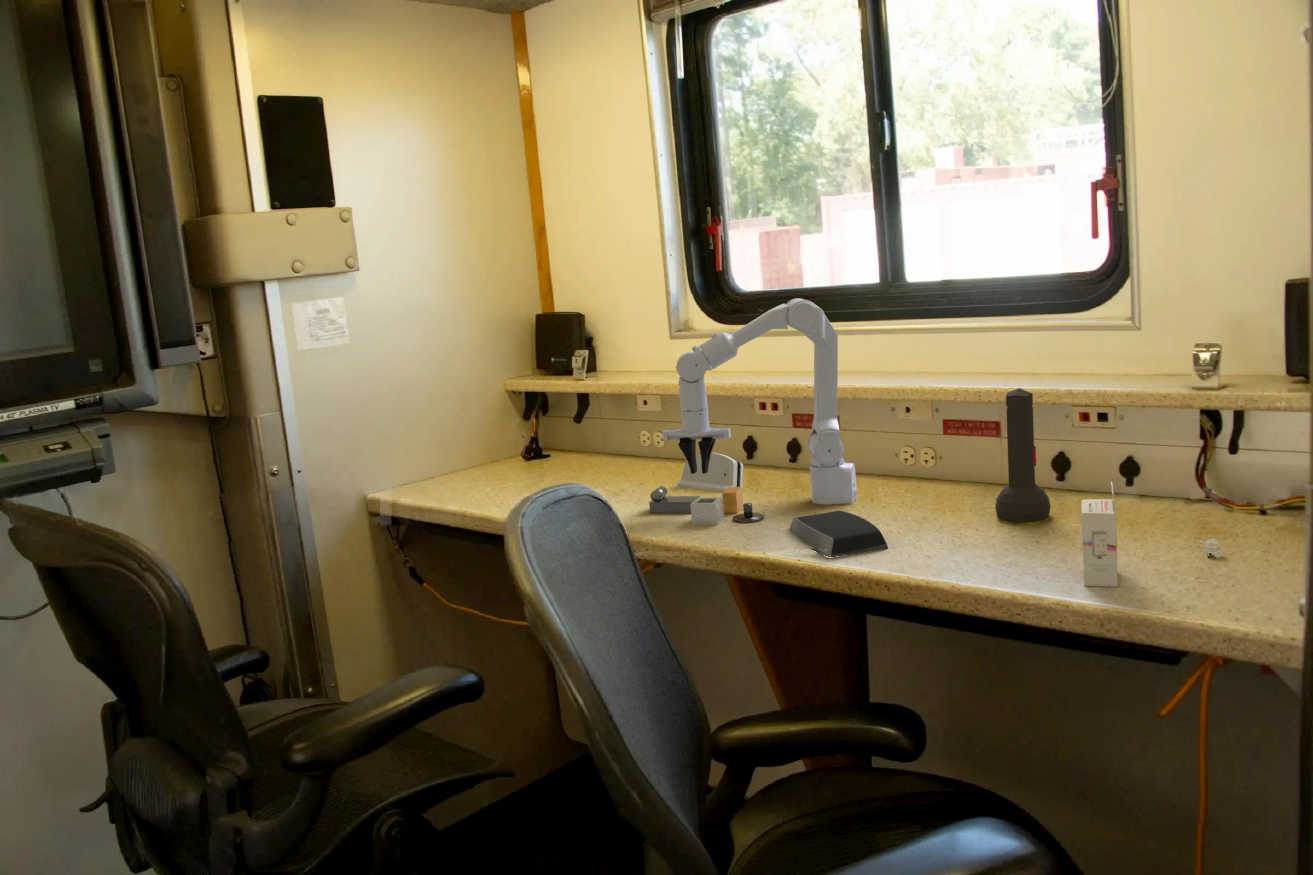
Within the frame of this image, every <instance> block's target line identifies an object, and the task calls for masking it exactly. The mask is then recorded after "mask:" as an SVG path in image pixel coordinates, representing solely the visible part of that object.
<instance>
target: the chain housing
mask: <svg viewBox="0 0 1313 875" xmlns="http://www.w3.org/2000/svg"><path fill="white" fill-rule="evenodd" d="M667 495H668V489H667V487H665V486H663V485H660V486H659V487H656V489H654V490H653V491H652V492H651V493H650V495H649V496H650V501H649V502H648V504H649V513H650V515H651V514H659V515H660V514H661V515H664V514H665V515H666V514H671V515H673V514H675V515H676V514H677V515H678V514H679V515H680V514H683V515H685V514H689V515H690V514H691V505H690V504H691V503H692V502H693V501H695V500H696V499H697V498H701V496H700V495H694V496H693V495H687V496H686V495H685V496H684V495H683V496H681V495H680V496H679V495H677V496H675V495H674V496H667Z"/></svg>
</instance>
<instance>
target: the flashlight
mask: <svg viewBox="0 0 1313 875" xmlns="http://www.w3.org/2000/svg"><path fill="white" fill-rule="evenodd" d="M1033 395H1034V394H1033V393H1032V392H1030V391H1028V390H1025V389H1023V388H1019V387H1018V388H1015V389H1012V390H1011V391H1009V392H1006V394H1005V407H1006V435H1007V465H1008V469H1007V470H1008V484H1006V485H1005V486H1004V487H1002V489H1001V491H1000V493H999V494H998V496H997V497H996V499H995V500H996V501H995V508H994V509H995V512H996V517H997V518H998V519H999V520H1000V521H1003V522H1006V523H1011V524H1031V523H1037V522H1045V521H1047V520H1048V519H1049V517H1050V512H1051V508H1052V506H1051V502H1050V498H1049V495H1048V494H1047V492H1046V490H1045V489H1044V488H1042V487H1041V486H1039V485H1038V484H1036V474H1035V473H1036V468H1035V467H1036V466H1037V450H1036V447H1037V446H1035V435H1034V434H1035V432H1034V431H1035V430H1034V429H1035V428H1034V407H1033V404H1034V401H1033V400H1034V399H1033V398H1034V397H1033ZM1046 519H1047V520H1046Z"/></svg>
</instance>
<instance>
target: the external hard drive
mask: <svg viewBox="0 0 1313 875" xmlns="http://www.w3.org/2000/svg"><path fill="white" fill-rule="evenodd" d="M788 529H789V531H790V532H791V533H792V534H794V535H795V536H796V537H797V538H798V539H799V540H801V541H802V542H803V543H806V544H808V546H811V547H813V548H811V549H812V550H814V551H816V552H817V553H816V552H815V553H816V554H818V553H819V554H818V555H820V554H822V555H825V556H828V557H836V556H842V557H844V556H843V555H848V556H852V555H851V554H854V555H858V553H859V554H863V553H864V552H865V553H869V551H871V552H876V551H883V550H886V549H887V548H888V549H889V547H888V543H887V542H886V539H885V537H884V534H883V533H882V532H881V531H880V529H879V528H878V527H877V526H876V525H874V524H873V523H872V522H870V521H868V520H867V519H865V518H864V517H862V516H859V515H856V514H853V513H851V512H848V511H844V510H843V511H842V510H834V511H830V512H829V511H828V512H821V513H817V514H809V515H804V516H798V517H797V516H795V517H793V519H792V521H791V523H790V525H789V528H788ZM812 550H811V551H812ZM875 550H876V551H875ZM814 551H813V552H814ZM822 555H821V556H822ZM836 558H837V557H836Z"/></svg>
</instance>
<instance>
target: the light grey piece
mask: <svg viewBox="0 0 1313 875" xmlns="http://www.w3.org/2000/svg"><path fill="white" fill-rule="evenodd" d="M696 462H697V472H696V473H695V474H691V470H690V467H689V464H688V462H687V459H686V458H685V462H684V466H683V471H682V473H681V478H680V480H679V482H678V483H677V486H676V490H677V489H678V490H679V489H680V490H682V489H685V490H687V489H688V490H689V489H691V490H700V491H701V490H702V491H710V492H717V493H723V492H724V491H725V490H726V489H727V488H728V487H742V488H743V485H744V484H743V483H744V482H743V481H744V464H743V463H742V462H741V461H740V460H737V458H734V457H733V456H732V457H731V456H729V455H726V454H721V453H716V452H711V455H710V460H709V466H708V472H707V473H705V474H703V473H702V463H701V454H700V453H696Z"/></svg>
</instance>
